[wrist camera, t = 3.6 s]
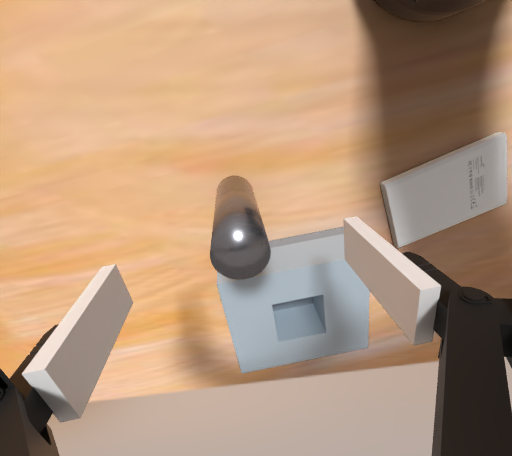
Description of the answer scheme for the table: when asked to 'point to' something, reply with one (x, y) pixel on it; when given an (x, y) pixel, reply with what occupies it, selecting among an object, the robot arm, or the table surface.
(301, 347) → the socket block
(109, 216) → the table surface
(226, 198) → the pin
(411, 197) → the external hard drive
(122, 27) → the table surface
